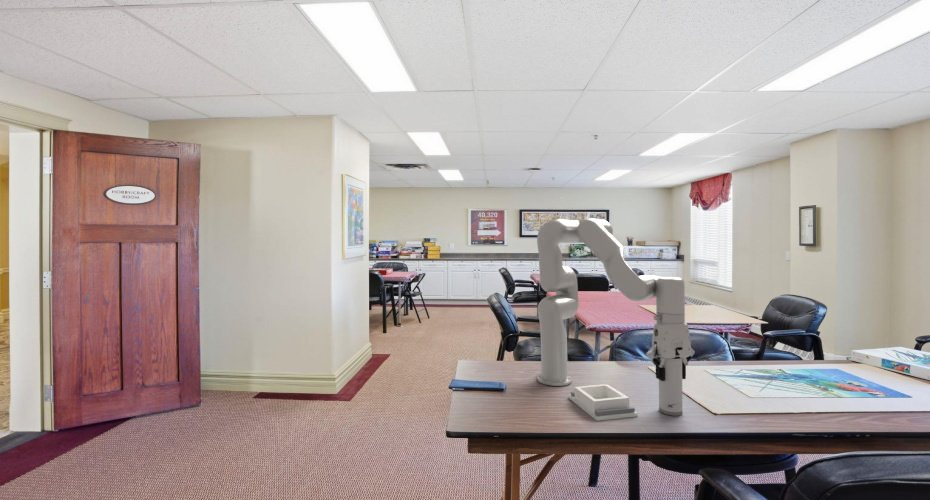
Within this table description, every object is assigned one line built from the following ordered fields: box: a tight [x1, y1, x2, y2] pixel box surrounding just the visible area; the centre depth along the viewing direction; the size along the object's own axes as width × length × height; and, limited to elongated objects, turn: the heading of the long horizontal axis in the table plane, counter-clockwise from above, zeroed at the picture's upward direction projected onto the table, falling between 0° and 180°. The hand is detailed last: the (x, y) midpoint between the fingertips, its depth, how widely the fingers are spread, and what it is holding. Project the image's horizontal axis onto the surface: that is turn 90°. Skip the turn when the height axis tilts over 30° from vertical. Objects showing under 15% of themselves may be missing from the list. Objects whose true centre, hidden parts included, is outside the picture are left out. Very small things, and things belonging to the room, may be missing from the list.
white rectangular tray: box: [568, 383, 639, 422], centre depth 125 cm, size 18×13×4 cm
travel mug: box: [658, 347, 683, 417], centre depth 120 cm, size 6×7×20 cm
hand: (670, 378), depth 120 cm, fingers closed on travel mug, 6 cm apart
